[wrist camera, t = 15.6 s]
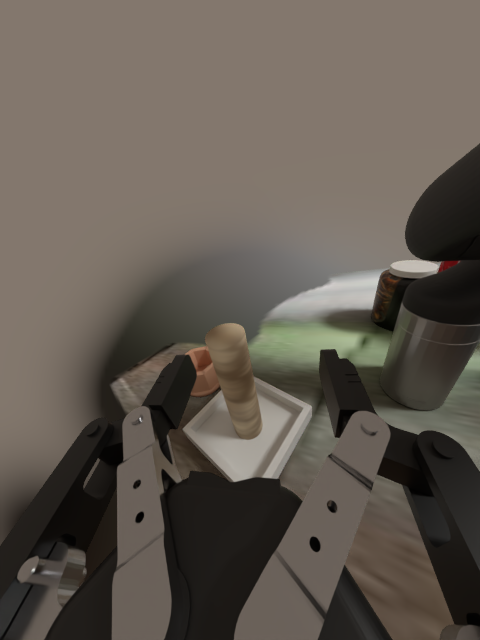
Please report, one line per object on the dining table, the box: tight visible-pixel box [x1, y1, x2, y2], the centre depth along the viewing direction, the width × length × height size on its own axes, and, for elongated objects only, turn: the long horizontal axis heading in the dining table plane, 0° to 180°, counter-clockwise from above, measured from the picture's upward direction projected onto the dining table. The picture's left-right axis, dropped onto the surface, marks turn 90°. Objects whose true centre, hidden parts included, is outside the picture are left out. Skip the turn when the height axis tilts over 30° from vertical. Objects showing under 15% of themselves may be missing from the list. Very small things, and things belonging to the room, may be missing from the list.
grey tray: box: [182, 377, 312, 482], centre depth 35 cm, size 16×16×3 cm
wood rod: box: [205, 323, 263, 440], centre depth 30 cm, size 5×5×20 cm
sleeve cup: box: [185, 346, 220, 397], centre depth 46 cm, size 10×10×6 cm
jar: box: [371, 260, 439, 331], centre depth 49 cm, size 12×12×15 cm
